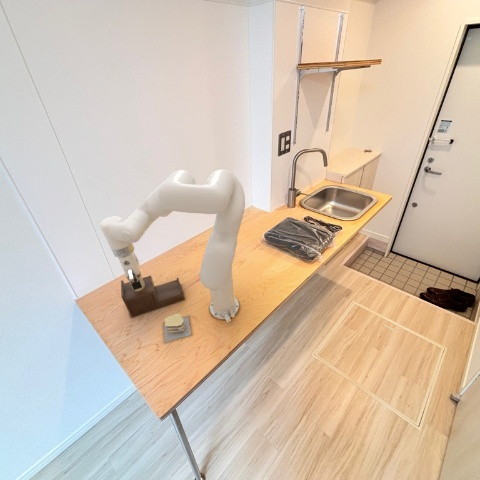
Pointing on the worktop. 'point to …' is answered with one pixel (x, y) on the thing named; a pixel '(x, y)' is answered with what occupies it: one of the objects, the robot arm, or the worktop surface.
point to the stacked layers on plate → (176, 327)
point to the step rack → (150, 296)
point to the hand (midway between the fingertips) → (137, 280)
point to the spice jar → (139, 280)
